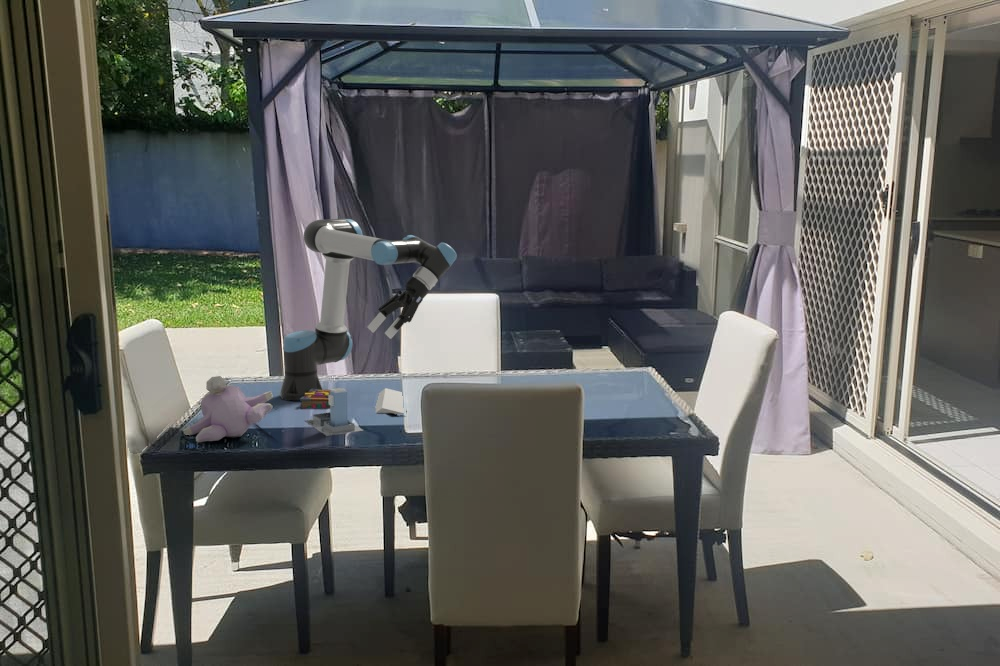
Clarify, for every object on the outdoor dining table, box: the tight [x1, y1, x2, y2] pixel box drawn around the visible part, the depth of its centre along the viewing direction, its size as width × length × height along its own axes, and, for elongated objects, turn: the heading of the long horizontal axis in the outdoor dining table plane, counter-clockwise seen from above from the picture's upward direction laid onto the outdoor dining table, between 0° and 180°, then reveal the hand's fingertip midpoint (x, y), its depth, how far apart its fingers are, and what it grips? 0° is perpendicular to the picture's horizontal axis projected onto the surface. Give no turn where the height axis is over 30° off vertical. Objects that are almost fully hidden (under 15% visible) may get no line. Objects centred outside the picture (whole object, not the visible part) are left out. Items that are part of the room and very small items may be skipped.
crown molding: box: [374, 387, 404, 415], centre depth 305 cm, size 29×12×4 cm, turn 6°
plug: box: [328, 387, 348, 426], centre depth 269 cm, size 4×5×13 cm
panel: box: [304, 411, 364, 437], centre depth 275 cm, size 20×12×3 cm, turn 32°
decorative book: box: [299, 389, 331, 410], centre depth 303 cm, size 11×16×5 cm
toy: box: [182, 375, 274, 443], centre depth 270 cm, size 29×17×30 cm
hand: (378, 333), depth 277 cm, fingers open, 13 cm apart
